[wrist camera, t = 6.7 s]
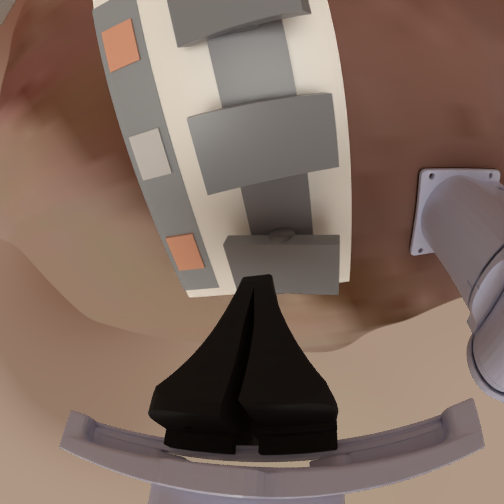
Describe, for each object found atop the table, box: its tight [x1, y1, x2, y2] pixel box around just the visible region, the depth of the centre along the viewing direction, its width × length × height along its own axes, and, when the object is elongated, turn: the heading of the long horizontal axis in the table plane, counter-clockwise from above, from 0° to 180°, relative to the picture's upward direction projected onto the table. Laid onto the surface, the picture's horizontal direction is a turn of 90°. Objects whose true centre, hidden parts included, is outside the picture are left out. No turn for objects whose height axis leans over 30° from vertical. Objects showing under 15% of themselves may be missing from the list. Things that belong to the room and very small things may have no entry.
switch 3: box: [223, 228, 340, 295], centre depth 18 cm, size 7×4×2 cm, turn 100°
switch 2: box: [187, 92, 339, 195], centre depth 13 cm, size 7×4×2 cm, turn 101°
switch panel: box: [92, 0, 352, 298], centre depth 15 cm, size 14×26×3 cm, turn 11°
